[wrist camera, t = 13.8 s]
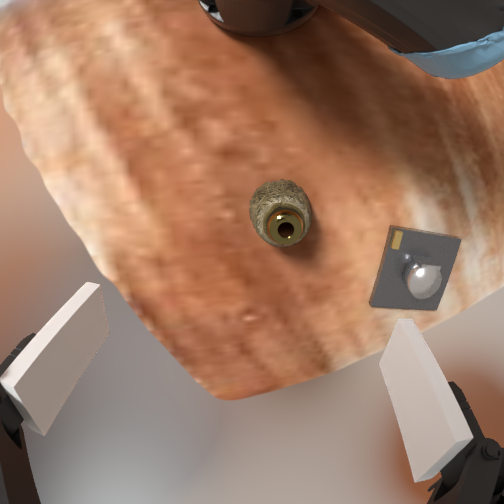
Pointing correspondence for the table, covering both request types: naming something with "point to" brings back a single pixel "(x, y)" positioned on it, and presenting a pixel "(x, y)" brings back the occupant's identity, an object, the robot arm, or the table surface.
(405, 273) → the grey plate with knob
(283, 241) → the scalloped lamp shade
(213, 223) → the table surface
